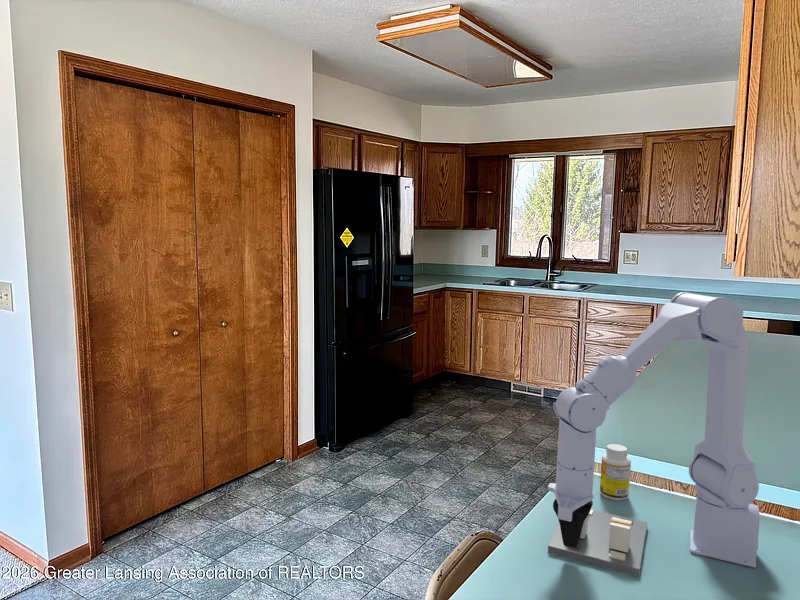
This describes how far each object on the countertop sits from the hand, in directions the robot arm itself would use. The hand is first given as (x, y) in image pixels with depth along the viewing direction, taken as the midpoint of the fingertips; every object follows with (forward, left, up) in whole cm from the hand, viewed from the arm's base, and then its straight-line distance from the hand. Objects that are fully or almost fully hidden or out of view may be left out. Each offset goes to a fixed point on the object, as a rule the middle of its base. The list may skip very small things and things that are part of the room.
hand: (570, 544), depth 94 cm
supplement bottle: (-3, -28, -3) cm, 29 cm away
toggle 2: (-7, -5, -1) cm, 9 cm away
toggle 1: (0, -6, -1) cm, 6 cm away
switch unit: (-3, -8, -2) cm, 9 cm away
